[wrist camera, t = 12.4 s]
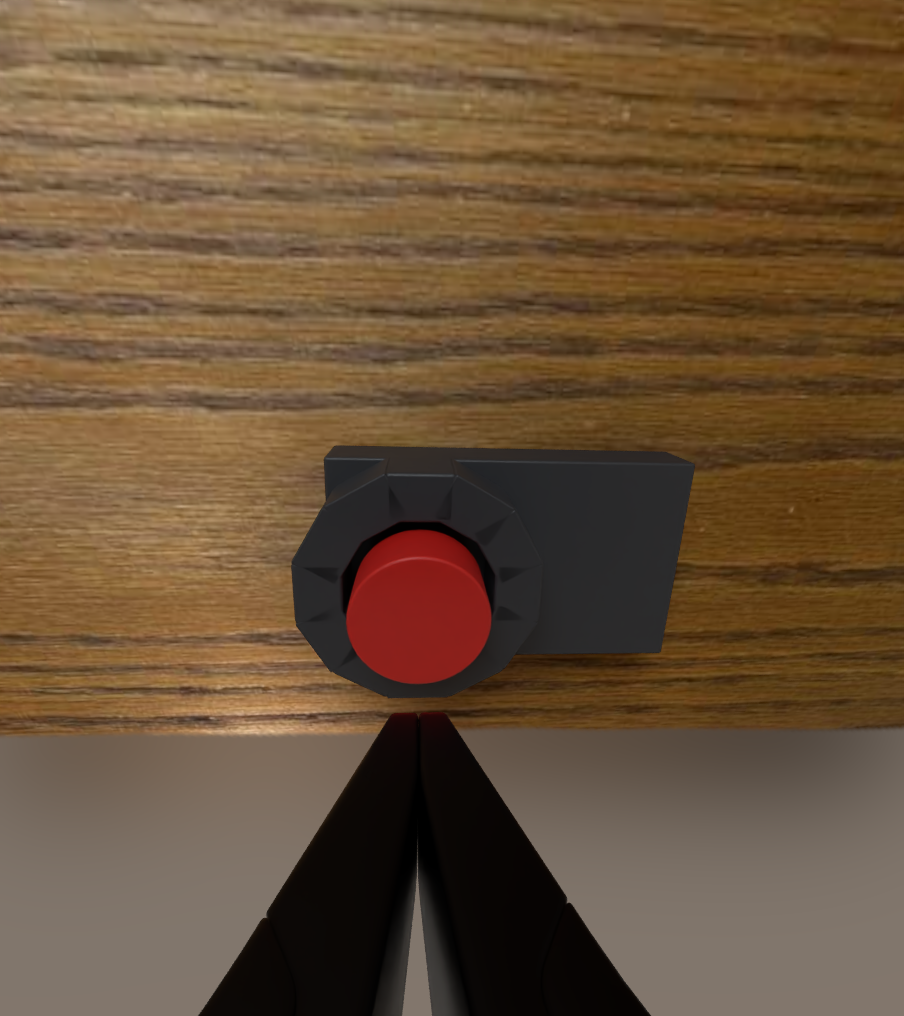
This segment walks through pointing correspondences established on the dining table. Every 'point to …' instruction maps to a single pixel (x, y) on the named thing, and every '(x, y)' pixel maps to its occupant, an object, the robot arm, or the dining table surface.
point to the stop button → (418, 608)
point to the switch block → (504, 547)
